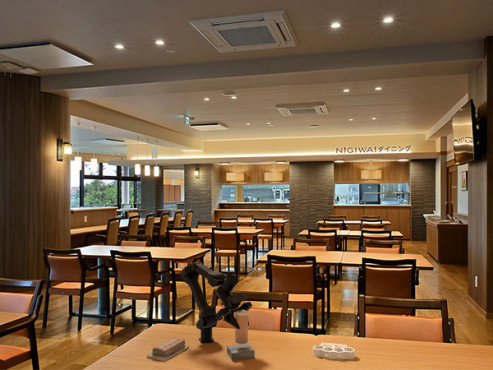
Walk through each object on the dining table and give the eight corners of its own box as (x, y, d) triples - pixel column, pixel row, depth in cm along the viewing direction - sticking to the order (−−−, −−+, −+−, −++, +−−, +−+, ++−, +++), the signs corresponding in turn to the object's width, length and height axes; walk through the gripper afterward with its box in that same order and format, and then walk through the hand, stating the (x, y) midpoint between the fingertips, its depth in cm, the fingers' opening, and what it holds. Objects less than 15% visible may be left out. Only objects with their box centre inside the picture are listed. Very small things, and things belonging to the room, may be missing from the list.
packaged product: (171, 335, 204) (189, 338, 200) (171, 345, 204) (189, 349, 200) (146, 347, 188) (164, 350, 184) (146, 358, 188) (164, 362, 184)
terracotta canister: (235, 339, 194) (235, 310, 194) (247, 339, 194) (248, 310, 194) (235, 343, 188) (235, 313, 188) (248, 343, 188) (248, 313, 188)
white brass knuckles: (355, 350, 196) (354, 363, 182) (314, 347, 200) (311, 359, 186) (354, 343, 196) (354, 354, 182) (314, 340, 200) (311, 351, 186)
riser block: (226, 352, 194) (226, 345, 194) (248, 349, 197) (248, 343, 197) (232, 360, 184) (231, 353, 184) (254, 357, 187) (254, 350, 187)
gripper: (219, 290, 187) (238, 321, 179) (249, 283, 201) (267, 312, 193) (207, 305, 193) (224, 336, 185) (237, 297, 206) (254, 326, 198)
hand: (243, 327), depth 190 cm, fingers closed on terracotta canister, 6 cm apart
